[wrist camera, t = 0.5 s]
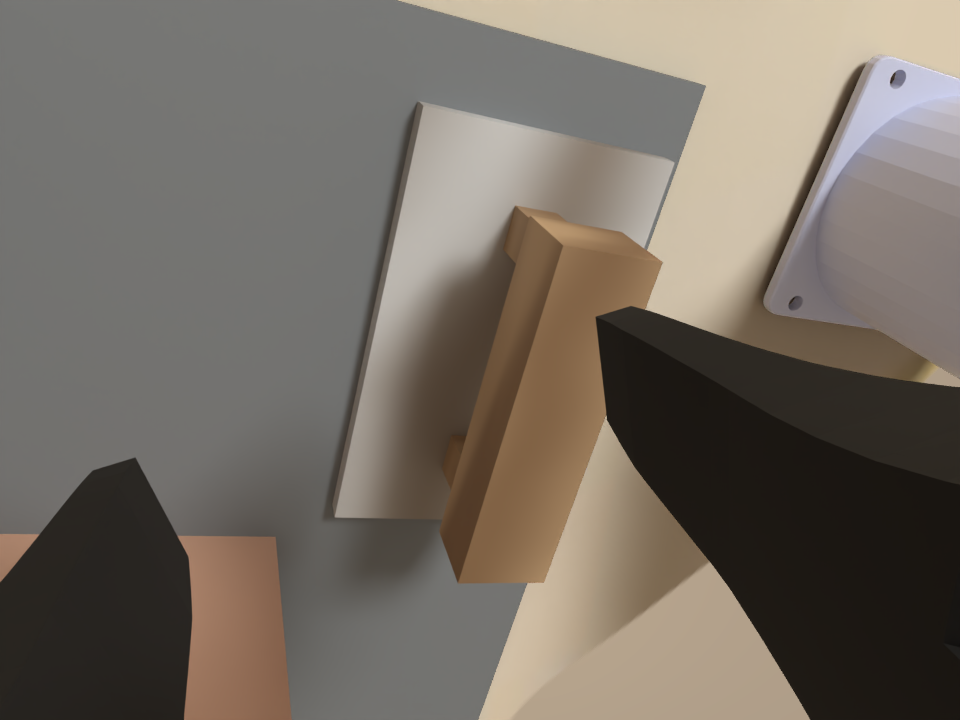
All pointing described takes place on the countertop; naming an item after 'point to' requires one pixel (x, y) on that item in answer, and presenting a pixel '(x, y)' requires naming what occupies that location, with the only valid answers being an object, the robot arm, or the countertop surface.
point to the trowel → (495, 335)
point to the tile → (224, 626)
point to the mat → (257, 289)
